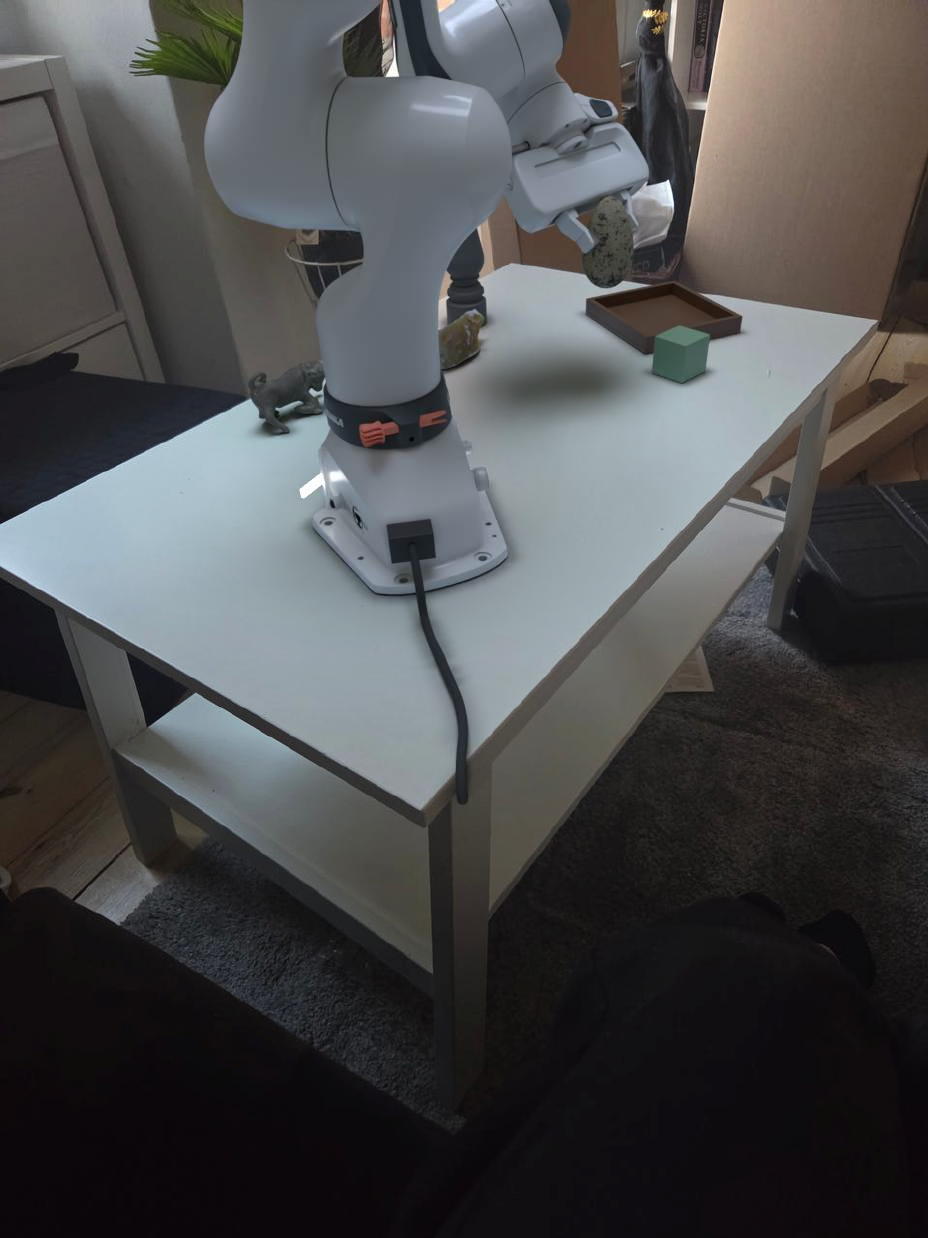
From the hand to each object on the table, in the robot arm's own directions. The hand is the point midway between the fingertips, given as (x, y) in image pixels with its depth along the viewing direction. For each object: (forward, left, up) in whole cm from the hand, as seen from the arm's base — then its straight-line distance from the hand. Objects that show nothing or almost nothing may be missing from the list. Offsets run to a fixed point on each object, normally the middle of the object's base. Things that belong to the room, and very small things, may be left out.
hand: (613, 240), depth 97 cm
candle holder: (+32, +7, -19) cm, 37 cm away
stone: (+21, +14, -19) cm, 31 cm away
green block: (+1, -11, -18) cm, 22 cm away
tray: (+17, -18, -18) cm, 31 cm away
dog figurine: (+13, +38, -19) cm, 44 cm away
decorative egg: (+1, 0, -6) cm, 6 cm away
